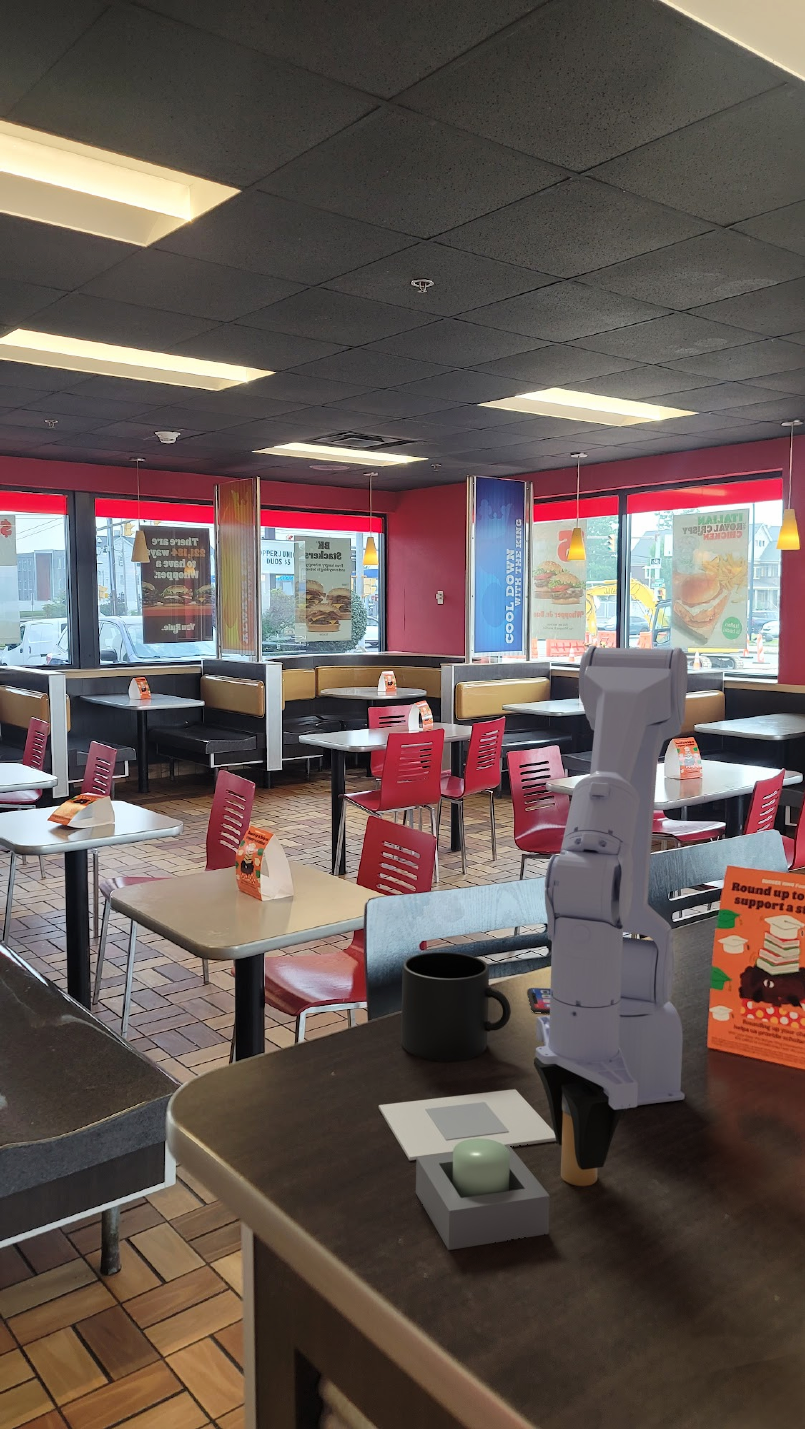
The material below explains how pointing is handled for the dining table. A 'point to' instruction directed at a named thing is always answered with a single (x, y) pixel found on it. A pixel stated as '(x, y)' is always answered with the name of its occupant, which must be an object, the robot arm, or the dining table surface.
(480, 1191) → the button
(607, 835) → the robot arm
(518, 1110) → the paper
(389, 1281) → the dining table surface
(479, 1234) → the button housing
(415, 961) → the mug
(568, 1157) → the bottle
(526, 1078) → the dining table surface
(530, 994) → the smartphone
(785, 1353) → the dining table surface
